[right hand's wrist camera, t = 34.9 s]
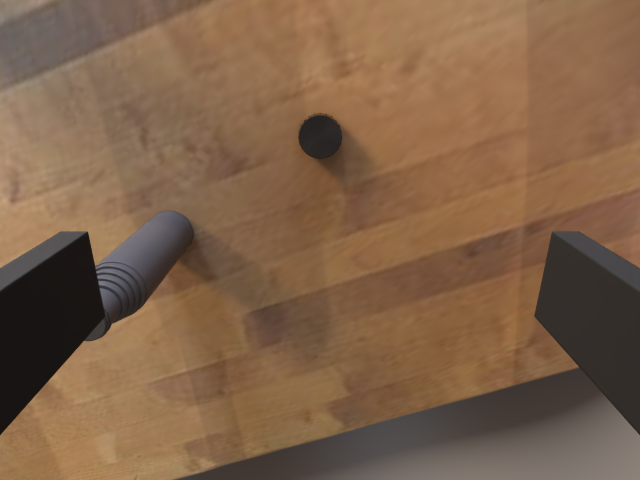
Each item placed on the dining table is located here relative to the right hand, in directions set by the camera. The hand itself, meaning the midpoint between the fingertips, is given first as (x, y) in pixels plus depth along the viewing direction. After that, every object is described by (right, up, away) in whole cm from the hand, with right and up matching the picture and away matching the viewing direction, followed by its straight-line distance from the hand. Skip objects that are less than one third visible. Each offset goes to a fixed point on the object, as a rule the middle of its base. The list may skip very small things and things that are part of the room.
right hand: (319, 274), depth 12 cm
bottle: (-16, +2, +33) cm, 36 cm away
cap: (0, +11, +28) cm, 30 cm away
